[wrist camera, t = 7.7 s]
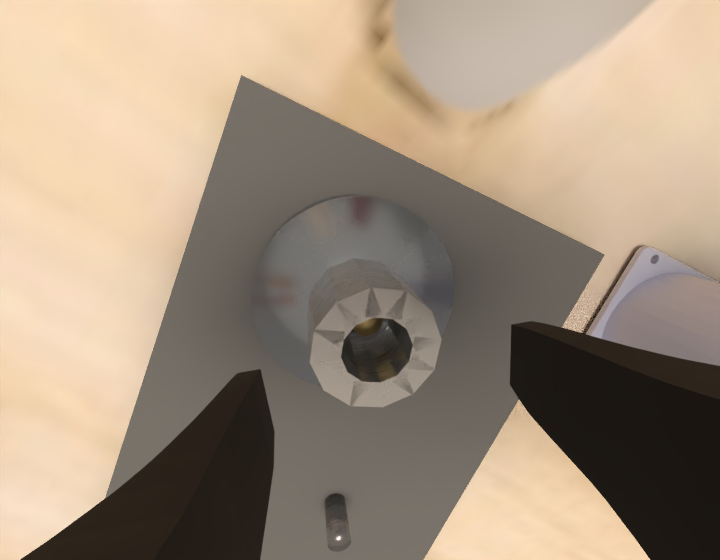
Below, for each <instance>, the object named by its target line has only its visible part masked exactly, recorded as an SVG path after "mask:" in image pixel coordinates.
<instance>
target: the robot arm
mask: <svg viewBox="0 0 720 560" xmlns="http://www.w3.org/2000/svg"><path fill="white" fill-rule="evenodd" d="M651 258H652V259H651ZM510 386H511V387H512V389H513V391H514V392H515V394H516V395H517V397H518V398H519V400H520V401H521V403H522V404H523V405H524V407H525V408H526V410H527V411H528V412H529V414H530V415H531V416H532V417H533V418H534V420H535V421H536V422H537V423H538V424H539V425H540V426H541V427H542V429H543V430H544V431H545V432H546V433H547V434H548V435H549V436H550V438H551V439H552V440H553V441H554V442H555V443H556V444H557V445H558V446H559V447H560V449H561V450H562V451H563V452H564V453H565V454H566V455H567V456H568V457H569V458H570V460H571V461H572V462H573V463H574V464H575V465H576V466H577V467H578V468H579V469H580V471H581V472H582V473H583V474H584V475H585V476H586V477H587V478H588V479H589V480H590V482H591V483H592V484H593V485H594V486H595V487H596V489H597V490H598V491H599V492H600V493H601V495H602V496H603V497H604V498H605V499H606V501H607V502H608V503H609V504H610V506H611V507H612V508H613V510H614V511H615V512H616V514H617V515H618V516H619V518H620V519H621V520H622V522H623V523H624V524H625V526H626V527H627V528H628V529H629V531H630V532H631V533H632V535H633V536H634V537H635V539H636V540H637V541H638V543H639V544H640V546H641V547H642V548H643V550H644V551H645V553H646V554H647V555H648V557H649V558H650V560H720V283H719V282H717V281H715V280H714V279H712V278H710V277H708V276H706V275H704V274H702V273H700V272H698V271H696V270H695V269H693V268H691V267H689V266H687V265H685V264H683V263H681V262H679V261H677V260H676V259H674V258H672V257H670V256H668V255H666V254H664V253H662V252H660V251H658V250H657V249H655V248H653V247H648V246H642V247H640V248H639V249H638V250H637V251H636V253H635V254H634V256H633V258H632V259H631V261H630V262H629V264H628V266H627V267H626V269H625V271H624V272H623V274H622V275H621V277H620V279H619V280H618V282H617V284H616V285H615V287H614V288H613V290H612V292H611V293H610V295H609V297H608V298H607V300H606V302H605V303H604V305H603V306H602V308H601V310H600V311H599V313H598V315H597V316H596V318H595V319H594V321H593V323H592V324H591V326H590V328H589V329H588V331H587V332H586V334H583V333H579V332H576V331H572V330H568V329H565V328H561V327H557V326H553V325H549V324H545V323H540V322H534V321H528V322H523V323H517V324H511V355H510ZM274 437H275V431H274V427H273V422H272V418H271V413H270V409H269V404H268V400H267V395H266V391H265V387H264V382H263V378H262V373H261V369H257V370H252V371H246V372H240V373H237V374H236V375H235V376H234V377H233V378H232V379H231V380H230V381H229V382H228V383H227V384H226V385H225V386H224V388H223V389H222V390H221V391H220V392H219V393H218V394H217V395H216V396H215V397H214V399H213V400H212V401H211V402H210V403H209V404H208V405H207V406H206V407H205V408H204V409H203V410H202V411H201V413H200V414H199V415H198V416H197V417H196V418H195V419H194V420H193V421H192V422H191V423H190V424H189V425H188V426H187V427H186V428H185V429H184V430H183V431H182V432H181V433H180V434H179V435H178V436H177V437H176V438H175V439H174V440H173V441H172V442H170V443H169V444H168V445H167V446H166V447H165V448H164V449H163V450H162V451H161V452H160V453H159V454H158V455H157V456H156V457H155V458H154V459H152V460H151V461H150V462H149V463H148V464H147V465H146V466H144V467H143V468H142V469H141V470H140V471H139V472H137V473H136V474H135V475H134V476H133V477H131V478H130V479H129V480H128V481H127V482H125V483H124V484H123V485H122V486H121V487H119V488H118V489H117V490H116V491H114V492H113V493H112V494H111V495H109V496H108V497H107V498H105V499H104V500H103V501H101V502H100V503H99V504H97V505H96V506H95V507H93V508H92V509H91V510H89V511H88V512H87V513H85V514H84V515H83V516H81V517H80V518H78V519H77V520H76V521H74V522H73V523H72V524H70V525H69V526H68V527H66V528H65V529H64V530H62V531H61V532H60V533H58V534H57V535H56V536H54V537H53V538H51V539H50V540H48V541H47V542H46V543H44V544H43V545H41V546H40V547H38V548H37V549H35V550H34V551H32V552H31V553H29V554H28V555H26V556H25V557H23V558H22V559H21V560H260V558H261V552H262V545H263V538H264V531H265V525H266V518H267V511H268V504H269V498H270V491H271V484H272V477H273V469H274Z"/></svg>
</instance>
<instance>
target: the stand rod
mask: <svg viewBox="0 0 720 560" xmlns="http://www.w3.org/2000/svg"><path fill="white" fill-rule="evenodd" d="M324 505H325V518H326V531H327V544H328V548H329V549H330V550H331V551H334V552H340V551H343V550H345V549H347V548H348V547H349V546H350V544H351V537H350V530H349V523H348V516H347V508H346V501H345V497H344V496H343V495H342V494H339V493H334V494H331V495H329V496H328V497H327V498H326V499H325V502H324Z"/></svg>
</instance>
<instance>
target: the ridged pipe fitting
mask: <svg viewBox="0 0 720 560" xmlns="http://www.w3.org/2000/svg"><path fill="white" fill-rule="evenodd" d="M374 317H375V318H382V323H381V326H380V328H379V330H378V331H377V332H375V333H374V334H372V335H369V336H362V335H359V334H357V333H356V332H351V330H352V329H353V328H354V327H355V325H357V324H360V323H362V322H364V321H367V320H369V319H371V318H374ZM307 325H308V344H309V362H310V364H311V366H312V368H313V370H314V372H315V374H316V376H317V378H318V380H319V382H320V384H321V386H322V388H323V390H324V391H326V392H327V393H329V394H331V395H332V396H334V397H336V398H337V399H339V400H341V401H343V402H344V403H346V404H348V405H349V406H359V407H385V406H387V405H389V404H392V403H394V402H396V401H398V400H401V399H403V398H405V397H408V396H410V395H413V394H414V393H415V391H416V390H417V389H418V388H419V387H420V386H421V385H422V383H423V382H424V381H425V380H426V379H427V378H428V377H429V375H430V374H431V373H432V372H433V371H434V370H435V365H436V361H437V357H438V353H439V349H440V345H441V341H442V338H441V336H440V333H439V330H438V327H437V325H436V322H435V319H434V316H433V313H432V310H431V309H430V308H429V307H428V306H427V305H426V304H425V302H424V301H423V300H422V299H421V298H420V297H419V296H418V295H417V294H416V293H415V292H414V291H413V290H412V289H411V288H410V287H409V286H408V284H407V283H406V282H405V281H404V280H403V279H402V278H401V277H400V276H398V275H397V274H396V273H394V272H393V271H392V270H390V269H389V268H388V267H387V266H385V265H384V264H383V263H382V262H381V261H373V260H365V259H356V258H352V259H350V260H347V261H345V262H342V263H340V264H338V265H335V266H333V267H330V268H328V269H327V270H326V271H325V272H324V274H323V275H322V276H321V277H320V279H319V280H318V281H317V283H316V284H315V285H314V286H313V288H312V289H311V290H310V298H309V306H308V314H307Z"/></svg>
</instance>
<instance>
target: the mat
mask: <svg viewBox="0 0 720 560" xmlns="http://www.w3.org/2000/svg"><path fill="white" fill-rule="evenodd" d="M344 195H364V196H371V197H376V198H381V199H384V200H386V201H389V202H392V203H395V204H397V205H400V206H402V207H404V208H406V209H408V210H410V211H411V212H413V213H414V214H416V215H417V216H418V217H420V218H421V219H423V220H424V221H425V222H426V223H427V224H428V225H429V226H430V227H431V228H432V229H433V231H434V232H435V233H436V234H437V236H438V237H439V238H440V240H441V242H442V244H443V245H444V247H445V249H446V251H447V254H448V256H449V259H450V261H451V265H452V270H453V274H454V285H455V287H454V301H453V307H452V312H451V315H450V318H449V321H448V324H447V326H446V328H445V330H444V333H443V334H442V336H441V338H442V341H441V345H440V349H439V353H438V357H437V361H436V365H435V370H434V371H433V372H432V373H431V374H430V375H429V377H428V378H427V379H426V380H425V381H424V382H423V383H422V385H421V386H420V387H419V388H418V389H417V390H416V391H415V393H414V394H413V395H410V396H408V397H405V398H403V399H401V400H398V401H396V402H394V403H392V404H389V405H387V406H385V407H359V406H349V405H348V404H346V403H344V402H343V401H341V400H339V399H337V398H336V397H334V396H332V395H331V394H329V393H327V392H326V391H324V390H323V388H322V387H320V386H317V385H314V384H311V383H309V382H306V381H304V380H302V379H300V378H298V377H297V376H295V375H294V374H292V373H291V372H289V371H288V370H286V369H285V368H284V367H283V366H282V365H281V364H279V363H278V362H277V361H276V359H275V358H274V357H273V356H272V355H271V354H270V352H269V351H268V349H267V348H266V346H265V345H264V343H263V342H262V339H261V337H260V335H259V333H258V331H257V327H256V324H255V321H254V316H253V309H252V288H253V281H254V277H255V273H256V270H257V266H258V264H259V262H260V259H261V257H262V255H263V253H264V250H265V248H266V246H267V245H268V243H269V242H270V240H271V238H272V237H273V235H274V234H275V233H276V232H277V231H278V229H279V228H280V227H281V226H282V225H283V224H284V223H285V222H286V221H287V220H289V219H290V218H291V217H292V216H293V215H295V214H296V213H298V212H299V211H301V210H302V209H304V208H306V207H308V206H310V205H312V204H314V203H316V202H319V201H322V200H325V199H328V198H332V197H337V196H344ZM603 257H604V254H602V253H600V252H598V251H596V250H594V249H592V248H590V247H588V246H586V245H584V244H582V243H580V242H578V241H576V240H574V239H572V238H570V237H568V236H566V235H564V234H562V233H560V232H558V231H556V230H554V229H551V228H549V227H547V226H545V225H543V224H541V223H539V222H537V221H535V220H533V219H531V218H529V217H527V216H525V215H523V214H521V213H519V212H517V211H515V210H513V209H511V208H509V207H507V206H505V205H503V204H501V203H499V202H497V201H495V200H493V199H491V198H489V197H487V196H485V195H483V194H481V193H479V192H477V191H475V190H473V189H471V188H468V187H466V186H464V185H462V184H460V183H458V182H456V181H454V180H452V179H450V178H448V177H446V176H444V175H442V174H440V173H438V172H436V171H434V170H432V169H430V168H428V167H426V166H424V165H422V164H420V163H418V162H416V161H414V160H412V159H410V158H408V157H406V156H404V155H402V154H400V153H398V152H396V151H394V150H392V149H390V148H388V147H385V146H383V145H381V144H379V143H377V142H375V141H373V140H371V139H369V138H367V137H365V136H363V135H361V134H359V133H357V132H355V131H353V130H351V129H349V128H347V127H345V126H343V125H341V124H339V123H337V122H335V121H333V120H331V119H329V118H327V117H325V116H323V115H321V114H319V113H317V112H315V111H313V110H311V109H309V108H307V107H305V106H302V105H300V104H298V103H296V102H294V101H292V100H290V99H288V98H286V97H284V96H282V95H280V94H278V93H276V92H274V91H272V90H270V89H268V88H266V87H264V86H262V85H260V84H258V83H256V82H254V81H252V80H250V79H248V78H246V77H244V76H242V75H241V78H240V81H239V84H238V87H237V90H236V94H235V97H234V100H233V103H232V106H231V109H230V112H229V115H228V118H227V122H226V125H225V128H224V131H223V134H222V137H221V140H220V143H219V146H218V150H217V153H216V156H215V159H214V162H213V165H212V168H211V171H210V174H209V177H208V181H207V184H206V187H205V190H204V193H203V196H202V199H201V202H200V205H199V209H198V212H197V215H196V218H195V221H194V224H193V227H192V230H191V233H190V237H189V240H188V243H187V246H186V249H185V252H184V255H183V258H182V261H181V264H180V268H179V271H178V274H177V277H176V280H175V283H174V286H173V289H172V292H171V296H170V299H169V302H168V305H167V308H166V311H165V314H164V317H163V320H162V324H161V327H160V330H159V333H158V336H157V339H156V342H155V345H154V348H153V351H152V355H151V358H150V361H149V364H148V367H147V370H146V373H145V376H144V379H143V383H142V386H141V389H140V392H139V395H138V398H137V401H136V404H135V407H134V411H133V414H132V417H131V420H130V423H129V426H128V429H127V432H126V435H125V438H124V442H123V445H122V448H121V451H120V454H119V457H118V460H117V463H116V466H115V470H114V473H113V476H112V479H111V482H110V485H109V488H108V491H107V494H106V498H107V497H108V496H109V495H111V494H112V493H113V492H114V491H116V490H117V489H118V488H119V487H121V486H122V485H123V484H124V483H125V482H127V481H128V480H129V479H130V478H131V477H133V476H134V475H135V474H136V473H137V472H139V471H140V470H141V469H142V468H143V467H144V466H146V465H147V464H148V463H149V462H150V461H151V460H152V459H154V458H155V457H156V456H157V455H158V454H159V453H160V452H161V451H162V450H163V449H164V448H165V447H166V446H167V445H168V444H169V443H170V442H172V441H173V440H174V439H175V438H176V437H177V436H178V435H179V434H180V433H181V432H182V431H183V430H184V429H185V428H186V427H187V426H188V425H189V424H190V423H191V422H192V421H193V420H194V419H195V418H196V417H197V416H198V415H199V414H200V413H201V411H202V410H203V409H204V408H205V407H206V406H207V405H208V404H209V403H210V402H211V401H212V400H213V399H214V397H215V396H216V395H217V394H218V393H219V392H220V391H221V390H222V389H223V388H224V386H225V385H226V384H227V383H228V382H229V381H230V380H231V379H232V378H233V377H234V376H235V375H236V374H237V373H240V372H246V371H252V370H257V369H261V373H262V378H263V382H264V387H265V391H266V395H267V400H268V404H269V409H270V413H271V418H272V422H273V427H274V431H275V437H274V469H273V477H272V484H271V491H270V498H269V504H268V511H267V518H266V525H265V531H264V538H263V545H262V552H261V558H260V560H423V559H424V558H425V556H426V554H427V553H428V551H429V549H430V547H431V546H432V544H433V542H434V541H435V539H436V537H437V536H438V534H439V532H440V531H441V529H442V527H443V526H444V524H445V522H446V521H447V519H448V517H449V516H450V514H451V512H452V510H453V509H454V507H455V505H456V504H457V502H458V500H459V499H460V497H461V495H462V494H463V492H464V490H465V489H466V487H467V485H468V484H469V482H470V480H471V479H472V477H473V475H474V473H475V472H476V470H477V468H478V467H479V465H480V463H481V462H482V460H483V458H484V457H485V455H486V453H487V452H488V450H489V448H490V447H491V445H492V443H493V442H494V440H495V438H496V436H497V435H498V433H499V431H500V430H501V428H502V426H503V425H504V423H505V421H506V420H507V418H508V416H509V415H510V413H511V411H512V410H513V408H514V406H515V405H516V403H517V401H518V400H519V398H518V397H517V395H516V394H515V392H514V391H513V389H512V387H511V386H510V355H511V324H517V323H523V322H528V321H534V322H540V323H545V324H549V325H553V326H557V327H562V326H563V324H564V322H565V320H566V319H567V317H568V315H569V314H570V312H571V310H572V309H573V307H574V305H575V304H576V302H577V300H578V299H579V297H580V295H581V294H582V292H583V290H584V289H585V287H586V285H587V284H588V282H589V280H590V278H591V277H592V275H593V273H594V272H595V270H596V268H597V267H598V265H599V263H600V262H601V260H602V258H603ZM334 493H339V494H342V495H343V496H344V497H345V501H346V508H347V516H348V523H349V530H350V537H351V544H350V546H349V547H348V548H347V549H345V550H343V551H340V552H334V551H331V550H330V549H329V548H328V544H327V531H326V518H325V505H324V502H325V499H326V498H327V497H328V496H329V495H331V494H334Z"/></svg>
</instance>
